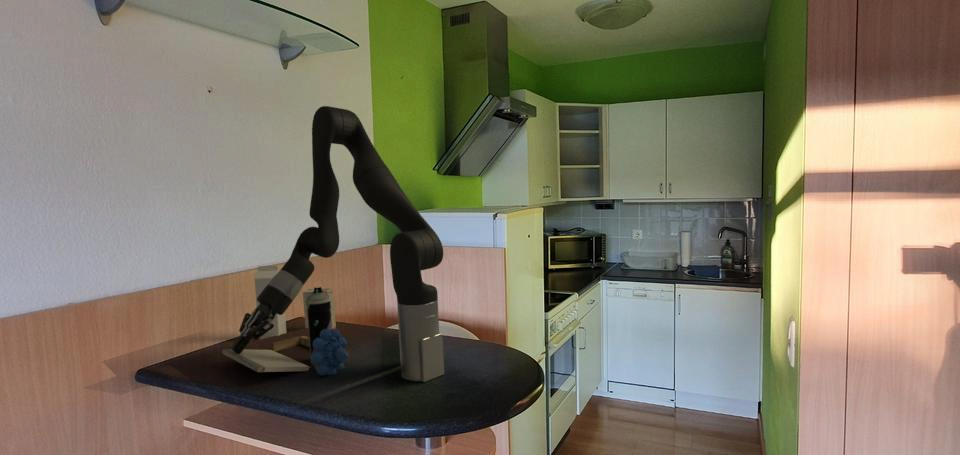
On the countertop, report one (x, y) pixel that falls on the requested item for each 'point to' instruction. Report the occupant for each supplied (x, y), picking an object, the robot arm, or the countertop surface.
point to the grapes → (329, 352)
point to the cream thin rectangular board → (265, 360)
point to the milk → (260, 283)
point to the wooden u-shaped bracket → (294, 344)
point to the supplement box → (330, 292)
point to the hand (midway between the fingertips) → (235, 351)
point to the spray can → (318, 315)
